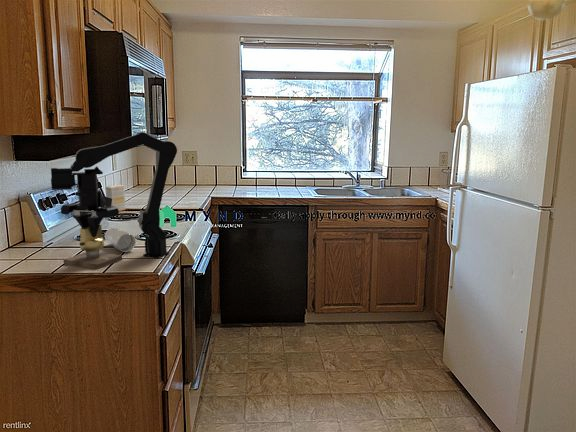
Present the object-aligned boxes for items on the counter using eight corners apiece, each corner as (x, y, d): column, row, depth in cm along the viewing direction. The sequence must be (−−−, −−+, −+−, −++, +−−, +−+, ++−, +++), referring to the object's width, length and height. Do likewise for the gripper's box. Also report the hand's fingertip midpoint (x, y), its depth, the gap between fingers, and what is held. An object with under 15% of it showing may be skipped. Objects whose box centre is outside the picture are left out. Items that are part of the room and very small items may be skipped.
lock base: (122, 259, 153) (121, 246, 152) (97, 269, 143) (96, 255, 142) (89, 255, 158) (88, 242, 158) (63, 263, 148) (62, 250, 147)
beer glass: (124, 239, 176) (139, 246, 165) (107, 248, 173) (121, 256, 161) (117, 223, 174) (131, 229, 162) (100, 231, 170) (113, 238, 159)
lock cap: (92, 244, 154) (90, 223, 153) (108, 246, 152) (107, 225, 150) (72, 250, 147) (70, 228, 146) (89, 252, 144) (87, 230, 143)
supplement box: (119, 209, 246) (118, 184, 243) (126, 210, 244) (124, 185, 241) (106, 211, 239) (105, 186, 237) (113, 212, 237) (111, 187, 234)
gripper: (128, 187, 150) (131, 233, 153) (84, 184, 157) (87, 229, 160) (104, 191, 140) (107, 241, 143) (57, 188, 147) (61, 236, 150)
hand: (91, 236), depth 149 cm, fingers closed on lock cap, 2 cm apart
